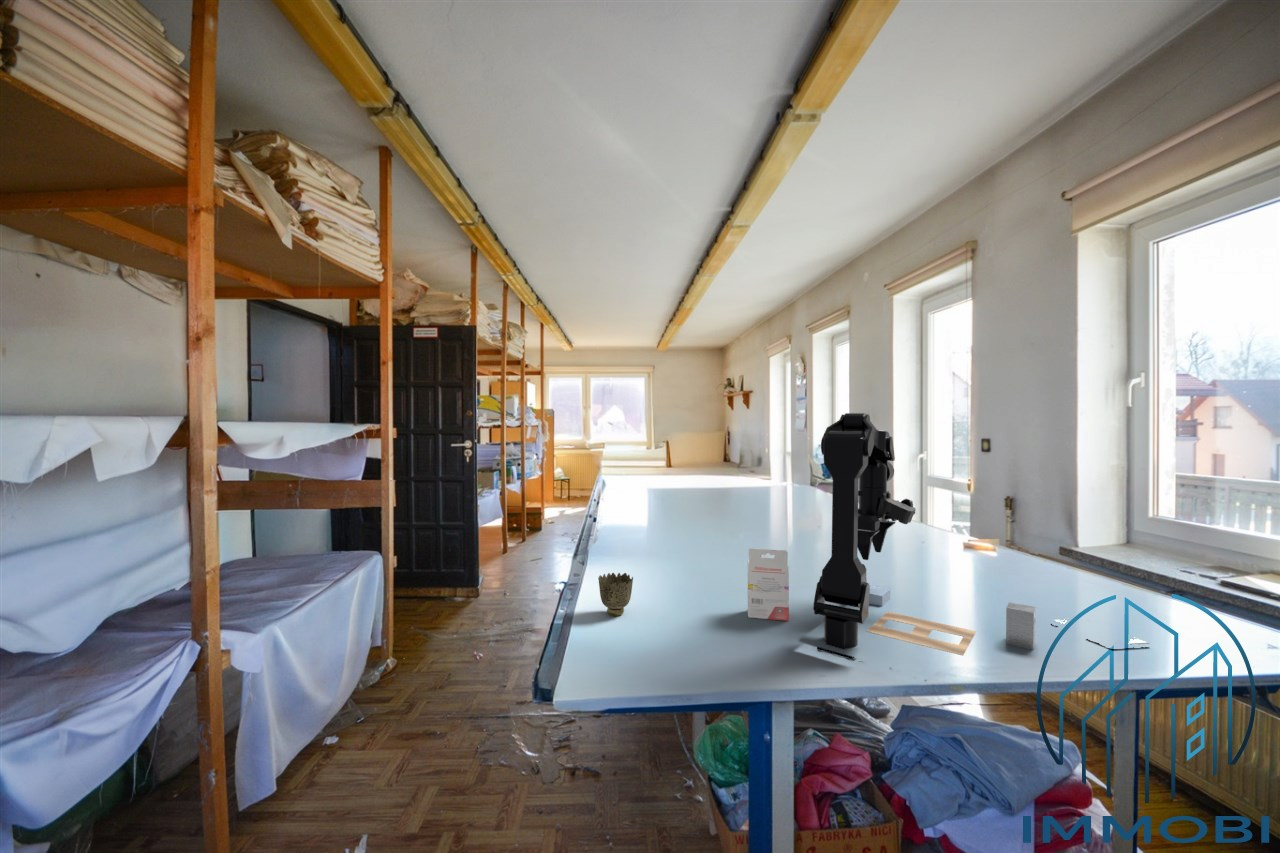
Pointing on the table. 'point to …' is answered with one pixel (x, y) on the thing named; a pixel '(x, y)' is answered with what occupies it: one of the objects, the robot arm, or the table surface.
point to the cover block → (879, 595)
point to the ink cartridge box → (768, 585)
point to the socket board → (924, 633)
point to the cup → (615, 592)
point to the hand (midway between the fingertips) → (872, 555)
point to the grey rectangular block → (1020, 625)
